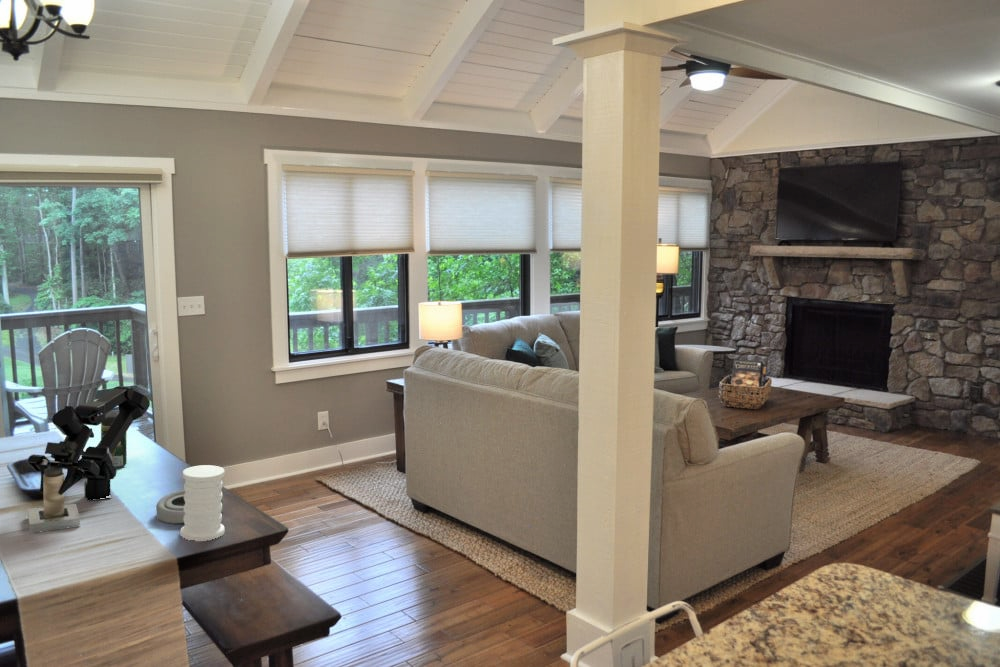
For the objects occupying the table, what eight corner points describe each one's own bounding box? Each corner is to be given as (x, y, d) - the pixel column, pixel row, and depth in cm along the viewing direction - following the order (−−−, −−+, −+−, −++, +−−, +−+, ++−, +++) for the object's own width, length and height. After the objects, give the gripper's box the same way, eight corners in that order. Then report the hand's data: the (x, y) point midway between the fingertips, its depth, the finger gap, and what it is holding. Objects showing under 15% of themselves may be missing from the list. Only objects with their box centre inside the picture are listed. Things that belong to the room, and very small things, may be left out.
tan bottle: (66, 514, 226) (66, 466, 224) (60, 520, 221) (60, 472, 219) (47, 514, 225) (47, 466, 223) (40, 520, 220) (40, 472, 218)
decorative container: (193, 544, 215) (194, 480, 212) (172, 531, 222) (173, 469, 220) (232, 534, 223) (233, 472, 221) (211, 522, 231) (212, 462, 228)
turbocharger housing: (145, 520, 232) (178, 533, 225) (144, 499, 231) (177, 511, 223) (194, 501, 246) (227, 512, 239) (193, 481, 245) (226, 492, 238)
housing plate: (76, 512, 231) (76, 503, 231) (80, 526, 221) (80, 518, 221) (28, 517, 225) (27, 509, 224) (29, 533, 215) (29, 524, 214)
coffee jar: (100, 461, 277) (101, 409, 274) (126, 459, 280) (126, 408, 278) (101, 470, 268) (101, 416, 265) (126, 468, 272) (127, 415, 269)
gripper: (30, 426, 224) (3, 476, 215) (93, 432, 223) (69, 483, 213) (48, 446, 233) (23, 495, 223) (109, 451, 231) (87, 501, 222)
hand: (50, 493), depth 220 cm, fingers closed on tan bottle, 5 cm apart
